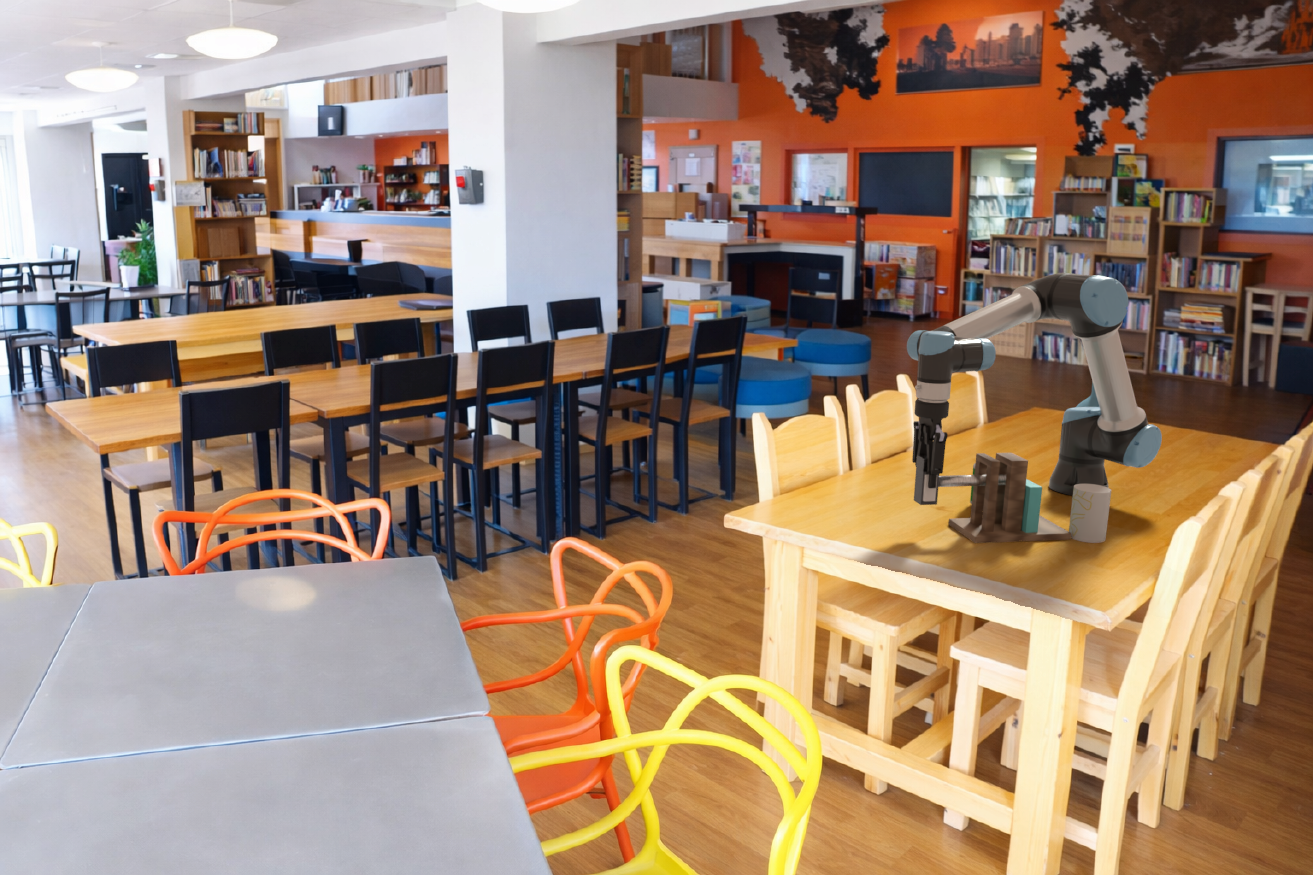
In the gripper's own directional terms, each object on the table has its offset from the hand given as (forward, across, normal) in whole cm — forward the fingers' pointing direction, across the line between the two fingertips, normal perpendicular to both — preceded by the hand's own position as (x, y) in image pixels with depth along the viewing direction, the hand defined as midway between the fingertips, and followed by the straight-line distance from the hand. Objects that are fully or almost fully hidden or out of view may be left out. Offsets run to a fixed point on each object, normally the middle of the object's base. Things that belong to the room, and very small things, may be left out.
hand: (924, 497), depth 243 cm
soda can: (+9, -20, +26) cm, 34 cm away
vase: (+10, -88, +100) cm, 134 cm away
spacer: (+8, 0, +25) cm, 26 cm away
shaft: (+1, 0, +10) cm, 10 cm away
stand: (+9, 0, +22) cm, 24 cm away
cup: (+9, +6, +39) cm, 40 cm away
